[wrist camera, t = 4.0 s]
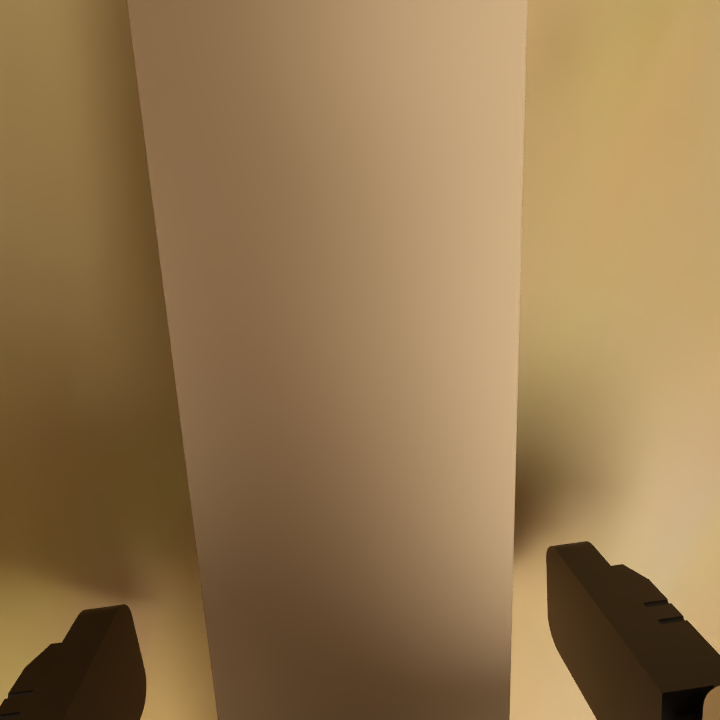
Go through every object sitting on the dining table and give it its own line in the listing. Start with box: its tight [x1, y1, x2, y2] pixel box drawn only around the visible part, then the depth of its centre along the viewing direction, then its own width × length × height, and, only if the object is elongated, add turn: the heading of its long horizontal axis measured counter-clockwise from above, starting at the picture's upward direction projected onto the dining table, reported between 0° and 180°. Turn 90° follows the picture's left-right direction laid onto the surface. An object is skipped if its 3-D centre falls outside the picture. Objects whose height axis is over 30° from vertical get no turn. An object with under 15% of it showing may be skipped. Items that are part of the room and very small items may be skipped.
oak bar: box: [127, 0, 527, 720], centre depth 10 cm, size 4×22×6 cm, turn 3°
